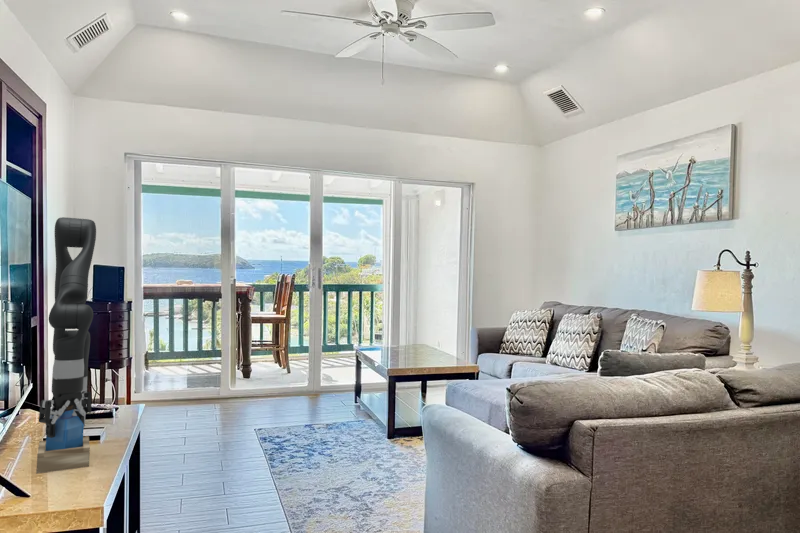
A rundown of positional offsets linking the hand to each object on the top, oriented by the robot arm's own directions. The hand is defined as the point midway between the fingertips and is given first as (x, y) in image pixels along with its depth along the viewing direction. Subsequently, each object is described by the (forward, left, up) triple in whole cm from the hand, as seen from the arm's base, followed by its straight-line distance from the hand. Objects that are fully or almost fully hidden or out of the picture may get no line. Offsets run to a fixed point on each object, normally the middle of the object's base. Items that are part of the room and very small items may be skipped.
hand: (65, 433), depth 147 cm
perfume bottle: (0, 0, -4) cm, 5 cm away
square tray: (0, 0, -8) cm, 8 cm away
